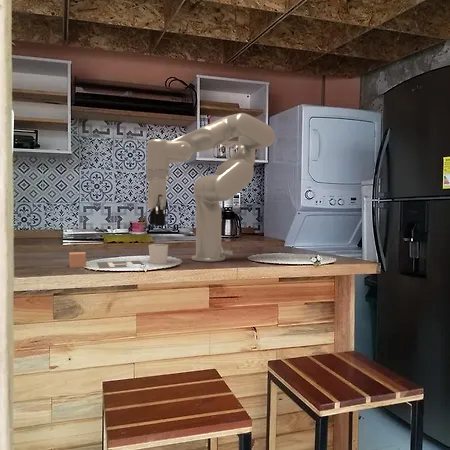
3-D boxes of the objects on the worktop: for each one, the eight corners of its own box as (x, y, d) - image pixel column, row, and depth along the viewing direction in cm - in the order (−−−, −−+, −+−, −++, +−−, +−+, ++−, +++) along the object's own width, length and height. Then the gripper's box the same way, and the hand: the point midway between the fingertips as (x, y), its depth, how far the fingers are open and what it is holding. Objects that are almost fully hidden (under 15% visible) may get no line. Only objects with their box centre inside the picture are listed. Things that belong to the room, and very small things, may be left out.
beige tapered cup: (164, 266, 153) (164, 245, 153) (145, 265, 155) (145, 245, 154) (170, 263, 160) (170, 243, 160) (152, 262, 162) (152, 243, 161)
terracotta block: (85, 266, 152) (85, 252, 151) (85, 269, 147) (85, 253, 147) (69, 267, 150) (69, 252, 150) (69, 269, 145) (69, 254, 145)
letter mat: (139, 262, 162) (139, 260, 162) (146, 268, 149) (146, 266, 149) (96, 264, 157) (96, 262, 157) (99, 270, 144) (99, 268, 144)
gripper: (142, 176, 162) (142, 223, 163) (151, 173, 146) (150, 226, 147) (163, 177, 165) (162, 224, 166) (174, 174, 149) (173, 226, 149)
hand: (156, 225), depth 156 cm, fingers open, 9 cm apart
